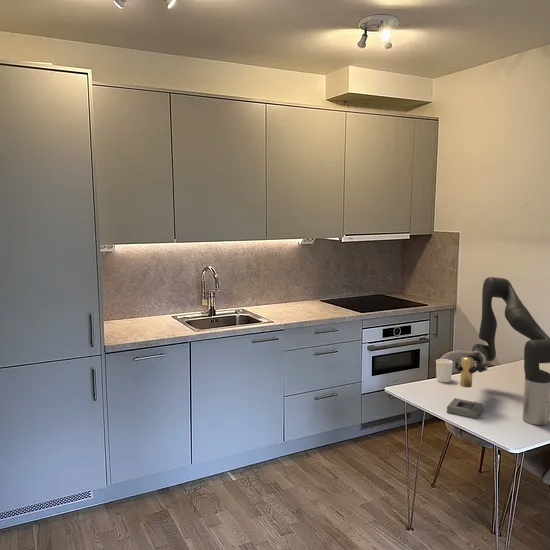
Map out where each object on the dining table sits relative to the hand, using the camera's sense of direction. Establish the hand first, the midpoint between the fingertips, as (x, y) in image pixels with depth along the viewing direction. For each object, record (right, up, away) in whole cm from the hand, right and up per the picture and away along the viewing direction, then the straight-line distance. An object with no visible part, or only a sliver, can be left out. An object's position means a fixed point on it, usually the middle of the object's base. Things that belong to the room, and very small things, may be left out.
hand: (465, 370), depth 209 cm
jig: (+1, -18, +2) cm, 18 cm away
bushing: (+2, -7, +3) cm, 8 cm away
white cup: (+5, -13, +42) cm, 44 cm away
